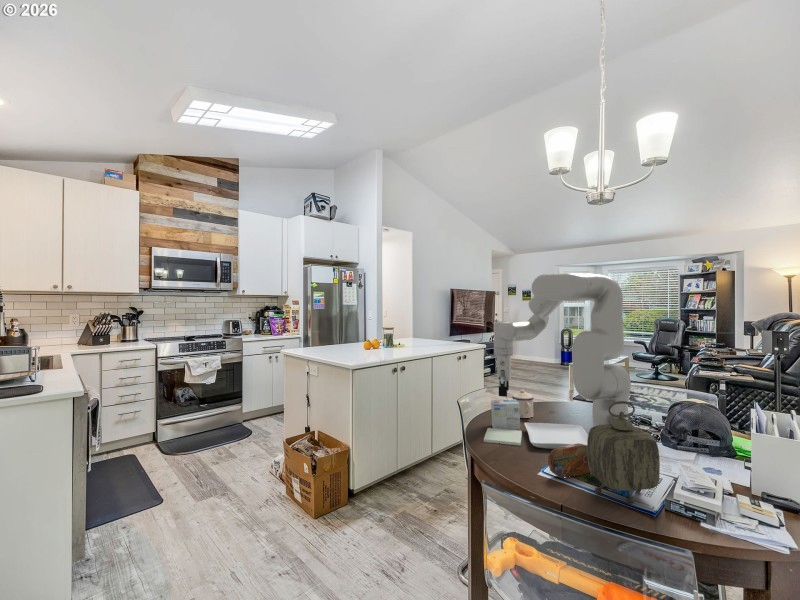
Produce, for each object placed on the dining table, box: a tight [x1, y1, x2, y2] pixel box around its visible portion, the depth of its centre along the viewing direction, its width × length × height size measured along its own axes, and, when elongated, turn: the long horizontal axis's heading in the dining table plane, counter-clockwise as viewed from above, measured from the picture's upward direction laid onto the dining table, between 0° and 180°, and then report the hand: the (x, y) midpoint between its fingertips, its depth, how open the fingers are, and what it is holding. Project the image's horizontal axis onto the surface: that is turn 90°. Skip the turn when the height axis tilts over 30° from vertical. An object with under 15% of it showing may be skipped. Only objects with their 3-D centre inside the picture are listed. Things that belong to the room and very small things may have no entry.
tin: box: [547, 443, 591, 479], centre depth 111 cm, size 15×3×8 cm, turn 106°
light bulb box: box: [490, 399, 521, 431], centre depth 153 cm, size 11×7×11 cm, turn 84°
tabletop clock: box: [587, 401, 661, 504], centre depth 97 cm, size 14×9×25 cm, turn 92°
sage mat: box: [483, 427, 523, 446], centre depth 142 cm, size 13×13×1 cm
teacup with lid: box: [511, 389, 534, 419], centre depth 166 cm, size 12×9×12 cm
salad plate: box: [523, 422, 588, 450], centre depth 137 cm, size 21×21×3 cm
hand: (503, 393), depth 154 cm, fingers open, 9 cm apart
